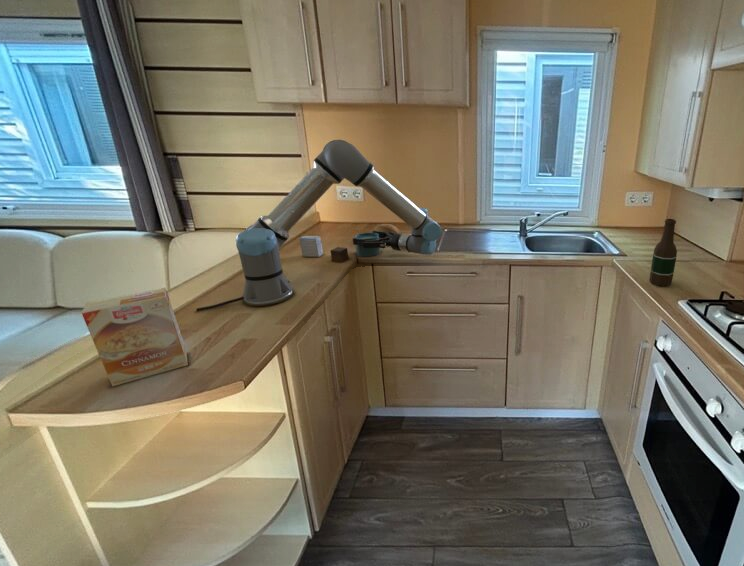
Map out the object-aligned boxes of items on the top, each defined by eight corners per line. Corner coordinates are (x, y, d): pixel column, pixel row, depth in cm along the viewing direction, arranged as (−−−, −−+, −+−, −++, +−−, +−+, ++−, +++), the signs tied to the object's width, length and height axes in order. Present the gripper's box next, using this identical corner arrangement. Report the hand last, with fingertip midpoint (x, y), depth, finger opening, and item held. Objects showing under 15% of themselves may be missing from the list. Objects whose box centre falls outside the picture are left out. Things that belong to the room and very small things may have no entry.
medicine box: (323, 254, 186) (320, 235, 182) (319, 257, 182) (315, 238, 178) (307, 253, 186) (304, 235, 183) (302, 256, 182) (298, 238, 179)
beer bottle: (672, 281, 152) (684, 218, 143) (669, 288, 145) (681, 223, 136) (651, 277, 155) (660, 216, 146) (647, 284, 149) (657, 220, 140)
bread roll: (395, 243, 201) (394, 227, 198) (369, 240, 205) (367, 225, 202) (404, 238, 209) (403, 223, 206) (379, 235, 213) (377, 221, 210)
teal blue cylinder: (360, 258, 180) (358, 240, 177) (353, 251, 189) (351, 234, 186) (383, 253, 185) (382, 236, 182) (376, 247, 194) (374, 231, 191)
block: (330, 250, 175) (332, 261, 177) (339, 251, 173) (341, 262, 175) (337, 246, 179) (339, 257, 181) (347, 247, 178) (348, 258, 179)
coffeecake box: (111, 387, 95) (79, 313, 87) (114, 373, 100) (85, 301, 93) (188, 365, 103) (165, 295, 95) (187, 353, 108) (165, 286, 101)
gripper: (385, 259, 168) (345, 253, 176) (418, 243, 189) (381, 238, 197) (383, 241, 165) (343, 236, 173) (417, 227, 186) (380, 223, 194)
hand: (363, 237), depth 185 cm, fingers open, 13 cm apart
